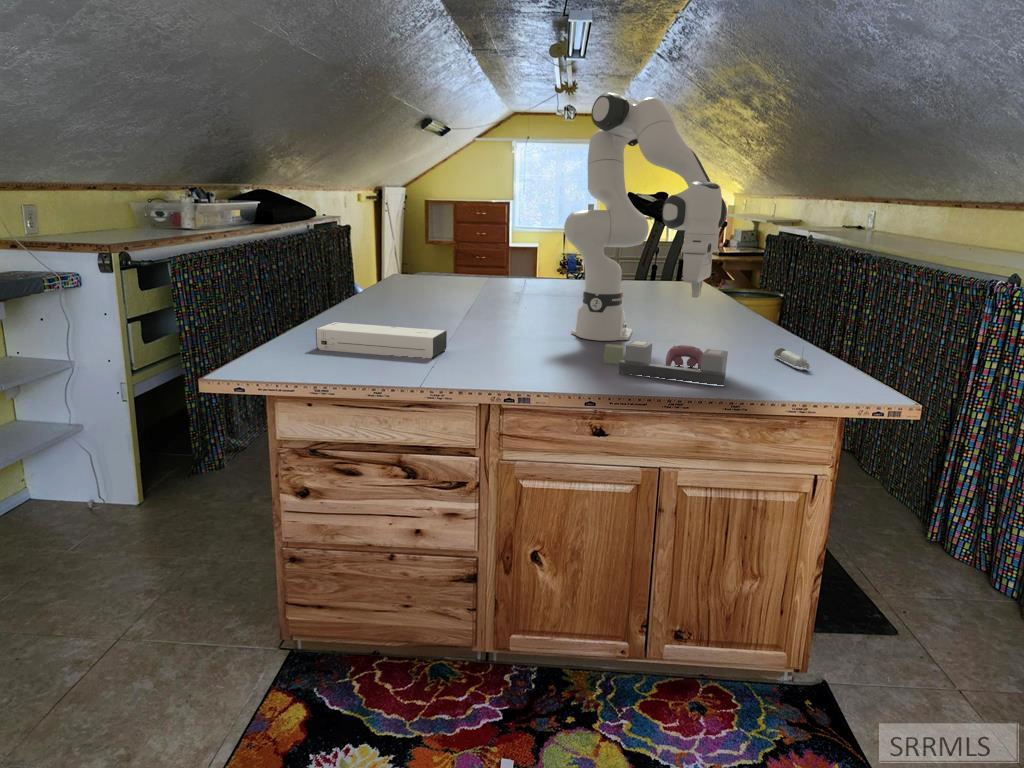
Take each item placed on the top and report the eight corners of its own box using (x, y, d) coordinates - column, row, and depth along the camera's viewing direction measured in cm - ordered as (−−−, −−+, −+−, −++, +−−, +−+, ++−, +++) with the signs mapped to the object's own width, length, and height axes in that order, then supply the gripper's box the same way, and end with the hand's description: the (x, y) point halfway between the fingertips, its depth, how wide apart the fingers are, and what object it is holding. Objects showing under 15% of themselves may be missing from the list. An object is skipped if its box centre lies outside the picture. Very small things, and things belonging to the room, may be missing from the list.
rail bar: (620, 372, 187) (620, 359, 186) (724, 386, 176) (725, 373, 175) (617, 374, 184) (618, 361, 184) (722, 388, 174) (724, 375, 173)
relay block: (605, 359, 201) (606, 343, 199) (623, 361, 199) (624, 345, 198) (603, 363, 197) (604, 346, 196) (622, 364, 196) (623, 348, 194)
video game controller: (703, 374, 194) (706, 349, 195) (702, 370, 190) (705, 344, 191) (665, 370, 197) (668, 345, 198) (664, 366, 193) (667, 341, 194)
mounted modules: (631, 367, 192) (633, 339, 190) (724, 379, 183) (727, 350, 181) (623, 373, 186) (626, 344, 184) (720, 385, 177) (723, 355, 175)
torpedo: (768, 358, 209) (771, 336, 207) (784, 358, 209) (787, 336, 208) (799, 374, 192) (802, 350, 190) (816, 374, 192) (819, 350, 190)
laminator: (446, 352, 205) (446, 330, 204) (432, 361, 194) (432, 338, 192) (334, 342, 212) (333, 321, 211) (314, 351, 201) (313, 329, 199)
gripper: (696, 242, 204) (691, 292, 207) (680, 246, 186) (676, 300, 189) (719, 243, 201) (714, 293, 205) (705, 247, 183) (700, 302, 187)
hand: (695, 297), depth 197 cm, fingers closed
